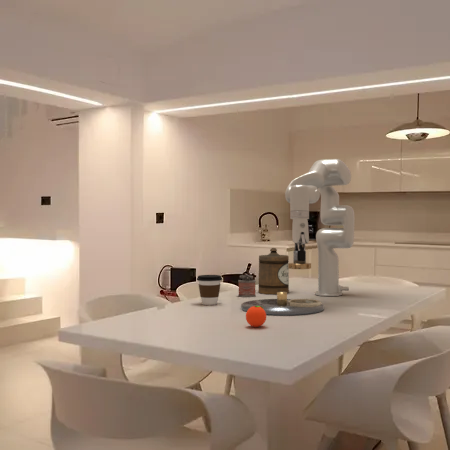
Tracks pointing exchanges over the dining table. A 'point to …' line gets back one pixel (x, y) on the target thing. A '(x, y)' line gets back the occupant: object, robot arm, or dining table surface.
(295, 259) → the gear
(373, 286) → the dining table surface
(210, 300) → the coffee cup
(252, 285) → the lighter
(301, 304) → the carrier plate
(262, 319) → the clementine
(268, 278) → the wooden container
